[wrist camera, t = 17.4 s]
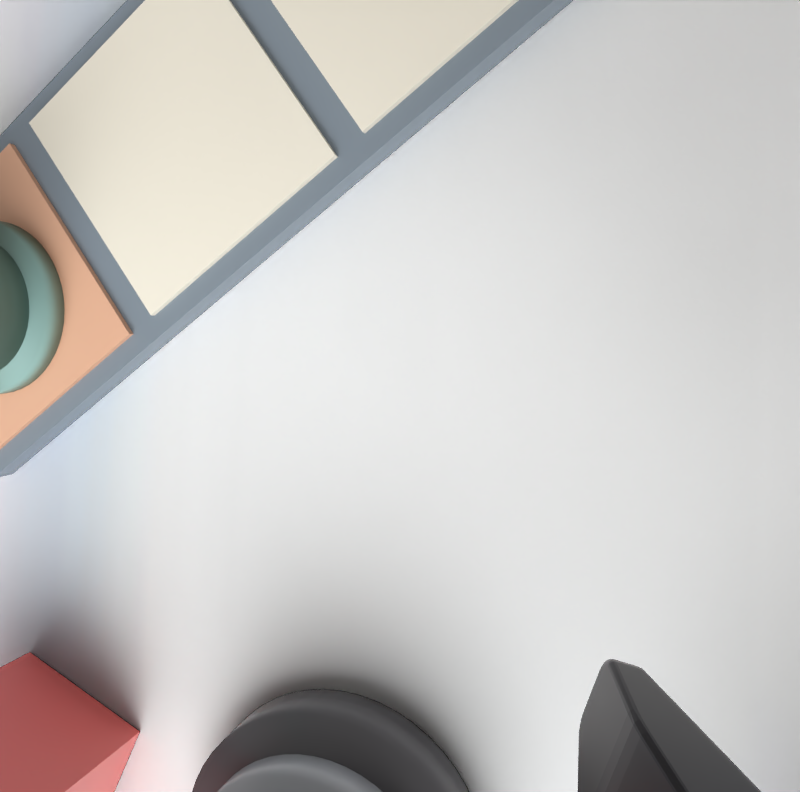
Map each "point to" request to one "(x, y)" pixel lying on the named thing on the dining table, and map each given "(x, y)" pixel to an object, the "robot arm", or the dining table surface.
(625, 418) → the dining table surface
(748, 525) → the dining table surface
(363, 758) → the base
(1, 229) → the game pawn
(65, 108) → the game board
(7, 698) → the red die
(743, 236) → the dining table surface
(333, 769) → the dome popper
